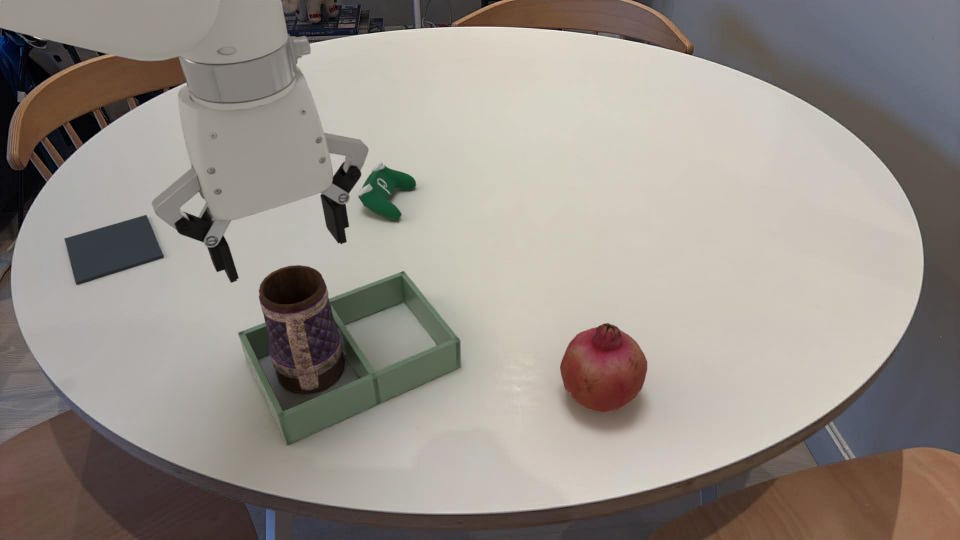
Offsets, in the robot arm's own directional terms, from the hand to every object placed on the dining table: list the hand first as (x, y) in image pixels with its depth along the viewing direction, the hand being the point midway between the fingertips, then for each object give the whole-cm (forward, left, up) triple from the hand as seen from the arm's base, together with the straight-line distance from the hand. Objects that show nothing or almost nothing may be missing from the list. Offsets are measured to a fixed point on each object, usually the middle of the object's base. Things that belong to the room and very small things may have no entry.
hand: (285, 253), depth 61 cm
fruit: (+23, -17, -17) cm, 33 cm away
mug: (0, 0, -17) cm, 17 cm away
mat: (-14, +33, -16) cm, 40 cm away
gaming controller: (+20, +25, -17) cm, 36 cm away
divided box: (+4, 0, -16) cm, 17 cm away
